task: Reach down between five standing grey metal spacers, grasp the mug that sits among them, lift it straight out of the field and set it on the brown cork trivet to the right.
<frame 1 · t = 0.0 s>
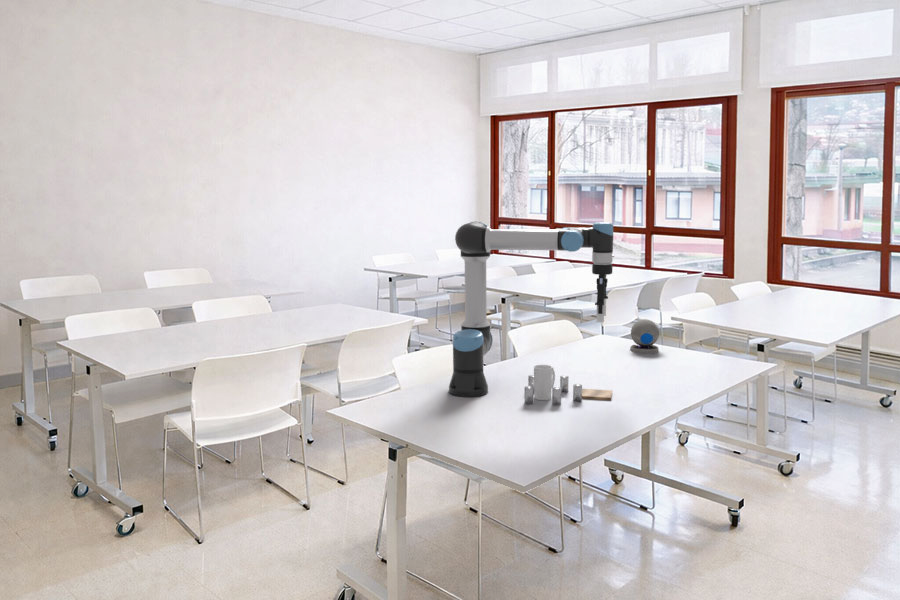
hand: (601, 318, 285), 28 cm above the table, fingers open, 13 cm apart
mug: (545, 397, 281), on the table
spacer 5: (577, 400, 276), on the table
spacer 4: (564, 391, 288), on the table
spacer 3: (556, 404, 272), on the table
spacer 1: (532, 391, 289), on the table
webcam: (644, 350, 355), on the table
trivet: (595, 395, 282), on the table
spacer 2: (528, 403, 273), on the table
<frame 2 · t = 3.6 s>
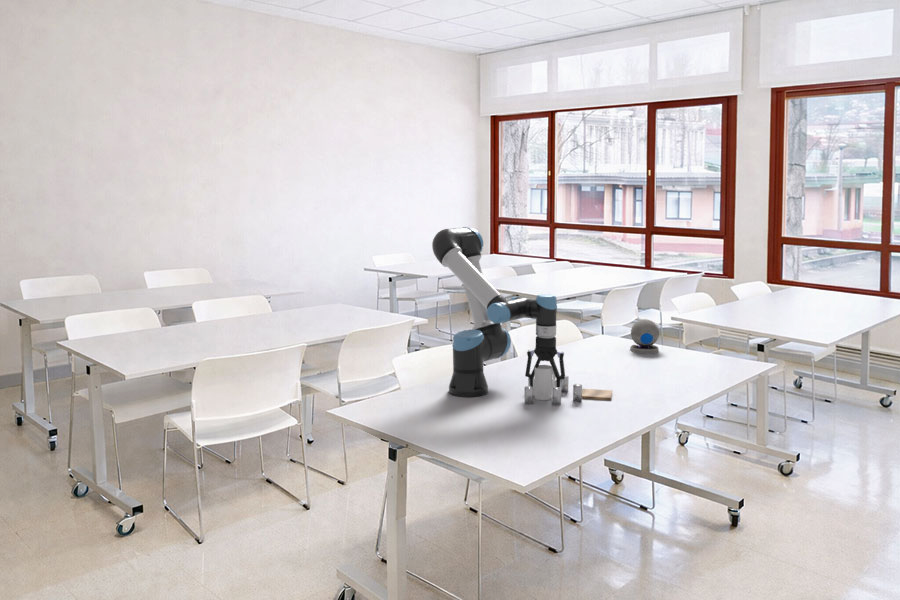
hand: (544, 395, 280), 1 cm above the table, fingers open, 7 cm apart
mug: (546, 397, 280), on the table, touching gripper
everything else where it was.
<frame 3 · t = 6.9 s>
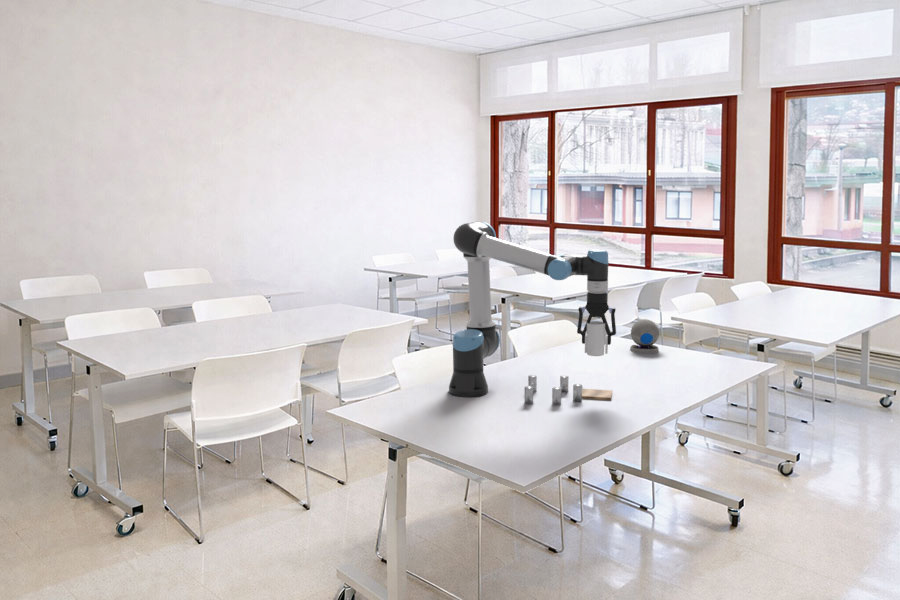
hand: (596, 352, 279), 17 cm above the table, fingers closed on mug, 7 cm apart
mug: (598, 354, 279), point 16 cm above the table, touching gripper
everything else where it was.
when the fingers open (3 cm above the table, at t = 9.7 s): mug drops 1 cm, resting on trivet.
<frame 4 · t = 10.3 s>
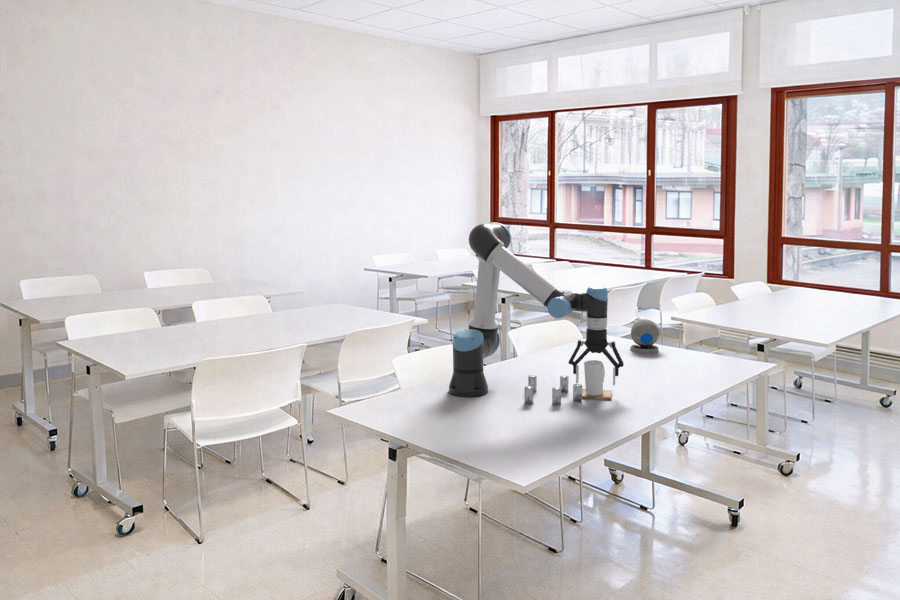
hand: (595, 383, 281), 5 cm above the table, fingers open, 13 cm apart
mug: (597, 392, 282), point 1 cm above the table, touching trivet
everything else where it was.
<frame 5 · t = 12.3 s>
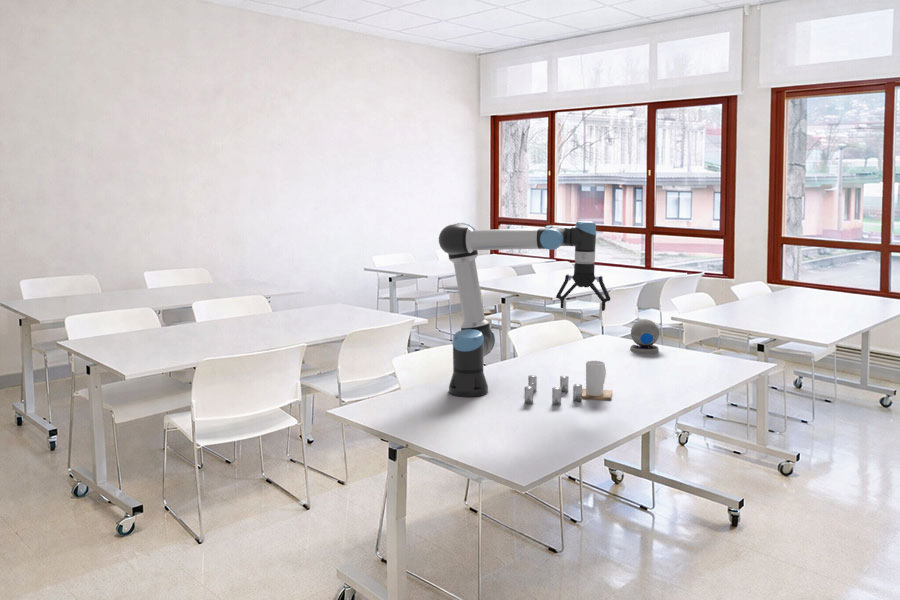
hand: (582, 318, 284), 29 cm above the table, fingers open, 13 cm apart
nothing on the table moved.
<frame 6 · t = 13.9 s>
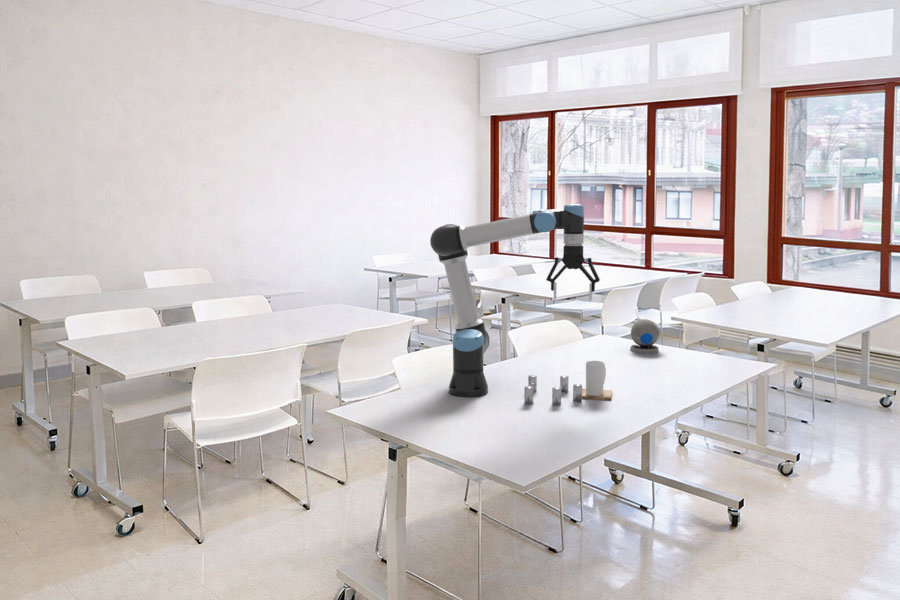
hand: (572, 299, 289), 35 cm above the table, fingers open, 13 cm apart
nothing on the table moved.
at the end: mug inside the target area on the trivet (0.7 cm from its centre), point 0.8 cm above the trivet's base; mug tilted 0°; the gripper is holding nothing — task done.
